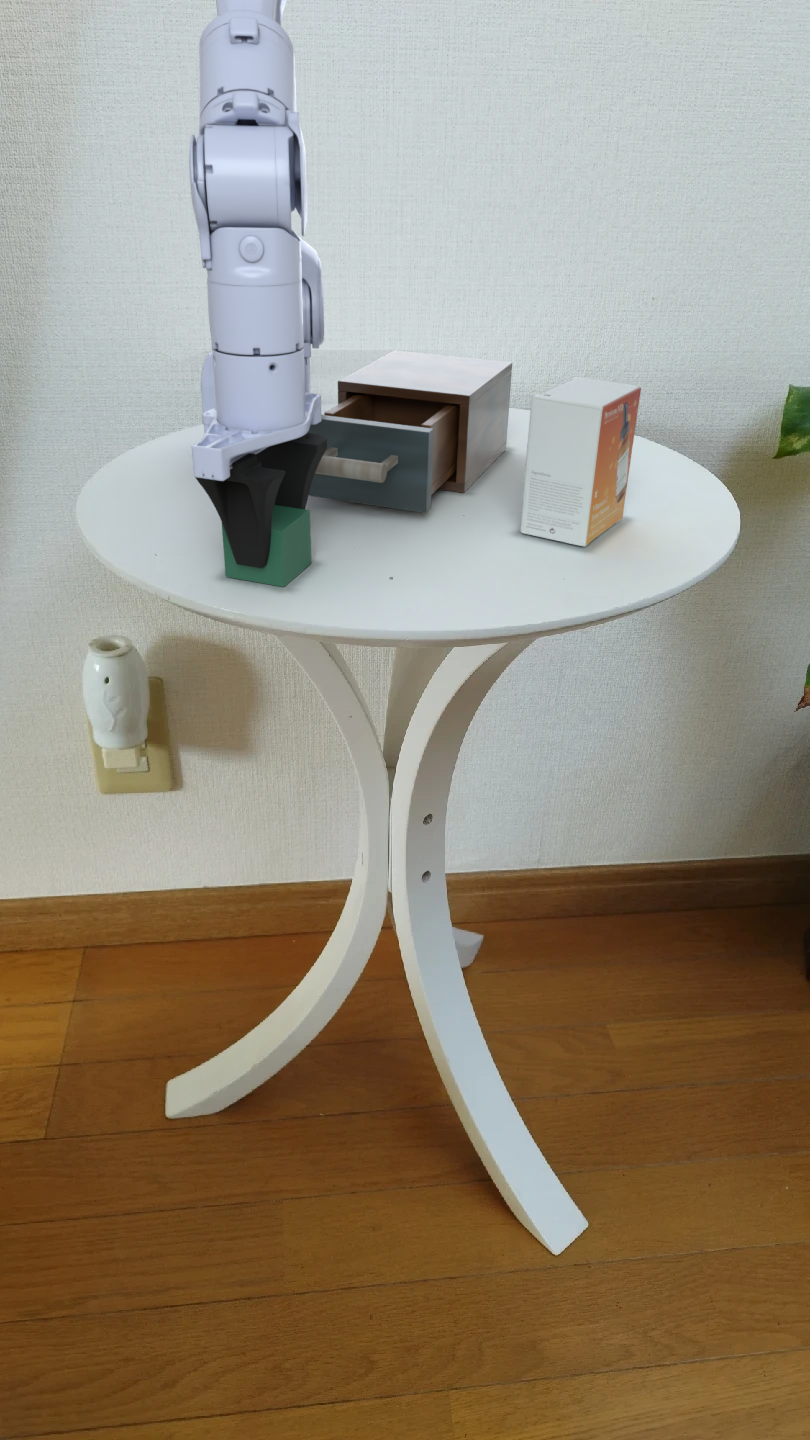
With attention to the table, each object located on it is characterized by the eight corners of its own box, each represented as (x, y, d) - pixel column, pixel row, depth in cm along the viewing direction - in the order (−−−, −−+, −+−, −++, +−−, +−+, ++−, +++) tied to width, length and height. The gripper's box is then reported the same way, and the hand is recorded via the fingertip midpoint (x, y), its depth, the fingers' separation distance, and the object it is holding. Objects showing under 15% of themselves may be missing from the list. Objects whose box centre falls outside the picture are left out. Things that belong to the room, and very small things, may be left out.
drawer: (407, 531, 76) (409, 448, 72) (281, 512, 79) (277, 431, 75) (472, 467, 89) (476, 394, 86) (362, 453, 92) (362, 381, 89)
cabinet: (464, 493, 86) (469, 395, 82) (338, 475, 89) (337, 380, 85) (506, 449, 97) (512, 362, 93) (392, 435, 100) (394, 350, 96)
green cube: (225, 577, 70) (220, 521, 68) (255, 554, 74) (252, 500, 72) (284, 587, 69) (281, 531, 67) (311, 563, 72) (310, 509, 70)
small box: (585, 550, 76) (602, 407, 70) (517, 534, 78) (529, 394, 73) (624, 519, 82) (644, 384, 76) (561, 505, 84) (575, 374, 79)
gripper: (254, 321, 70) (263, 509, 77) (138, 364, 59) (162, 581, 66) (348, 330, 68) (349, 522, 76) (247, 376, 57) (260, 598, 64)
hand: (268, 551), depth 71 cm, fingers closed on green cube, 4 cm apart
